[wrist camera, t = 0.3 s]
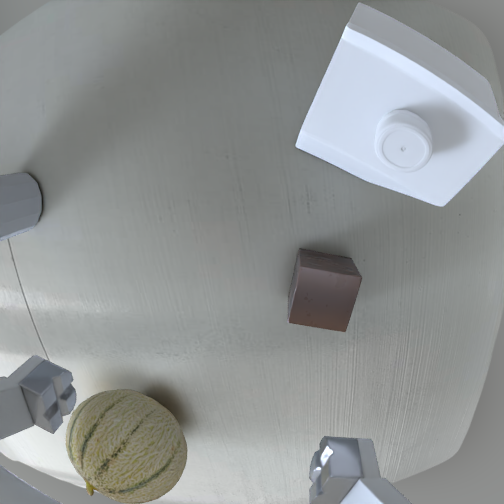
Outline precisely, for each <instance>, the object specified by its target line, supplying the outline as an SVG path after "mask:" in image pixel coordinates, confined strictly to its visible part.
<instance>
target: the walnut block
mask: <svg viewBox="0 0 504 504" xmlns="http://www.w3.org/2000/svg"><path fill="white" fill-rule="evenodd" d="M361 280H362V276H361V275H360V273H359V271H358V269H357V267H356V266H355V264H354V262H353V260H352V259H351V258H347V257H342V256H337V255H332V254H327V253H322V252H316V251H311V250H306V249H301V248H299V250H298V255H297V260H296V264H295V269H294V274H293V278H292V283H291V287H290V292H289V296H288V320H287V322H288V323H293V324H299V325H305V326H311V327H317V328H323V329H329V330H335V331H342V332H346V329H347V326H348V323H349V320H350V317H351V313H352V310H353V307H354V304H355V300H356V297H357V294H358V290H359V287H360V284H361Z"/></svg>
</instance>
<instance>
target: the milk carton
mask: <svg viewBox="0 0 504 504" xmlns="http://www.w3.org/2000/svg"><path fill="white" fill-rule="evenodd" d="M503 144H504V120H503V119H502V118H501V117H500V113H499V110H498V107H497V104H496V101H495V98H494V95H493V92H492V89H491V86H490V83H489V81H488V80H487V79H485V78H484V77H483V76H482V75H481V74H479V73H478V72H477V71H475V70H474V69H473V68H471V67H470V66H469V65H467V64H466V63H465V62H463V61H462V60H460V59H459V58H458V57H456V56H455V55H453V54H452V53H450V52H449V51H447V50H446V49H444V48H443V47H441V46H440V45H438V44H437V43H435V42H434V41H432V40H430V39H429V38H427V37H425V36H424V35H422V34H420V33H419V32H417V31H415V30H414V29H412V28H410V27H408V26H407V25H405V24H403V23H401V22H399V21H397V20H396V19H394V18H392V17H390V16H388V15H386V14H384V13H382V12H380V11H378V10H376V9H374V8H371V7H369V6H367V5H365V4H363V3H360V2H358V4H357V6H356V8H355V10H354V12H353V14H352V17H351V19H350V21H349V23H347V25H346V28H345V30H344V32H343V35H342V37H341V40H340V42H339V44H338V46H337V48H336V51H335V53H334V55H333V57H332V60H331V62H330V64H329V66H328V69H327V71H326V73H325V76H324V78H323V80H322V82H321V85H320V87H319V89H318V91H317V94H316V96H315V98H314V100H313V103H312V105H311V107H310V109H309V112H308V114H307V116H306V118H305V121H304V123H303V125H302V128H301V130H300V133H299V136H298V139H297V142H296V145H295V146H296V147H297V148H299V149H301V150H303V151H305V152H308V153H310V154H312V155H314V156H316V157H318V158H320V159H323V160H325V161H327V162H329V163H331V164H333V165H335V166H337V167H339V168H341V169H343V170H345V171H347V172H349V173H351V174H353V175H355V176H357V177H359V178H361V179H363V180H365V181H367V182H370V183H373V184H376V185H379V186H382V187H385V188H388V189H391V190H394V191H397V192H400V193H403V194H406V195H409V196H411V197H414V198H417V199H420V200H422V201H425V202H428V203H430V204H433V205H436V206H441V207H442V206H444V205H446V204H447V203H448V202H449V201H450V200H451V199H452V198H453V197H454V196H455V195H456V194H457V193H458V192H459V191H460V190H461V189H462V188H463V187H464V186H465V185H466V184H467V183H468V182H469V181H470V179H471V178H472V177H473V176H474V175H475V174H476V173H477V172H478V171H479V170H480V169H481V168H482V167H483V166H484V165H485V164H486V163H487V162H488V160H489V159H490V158H491V157H492V156H493V155H494V154H495V153H496V152H497V151H498V149H499V148H500V147H501V146H502V145H503Z"/></svg>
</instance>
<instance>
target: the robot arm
mask: <svg viewBox="0 0 504 504" xmlns="http://www.w3.org/2000/svg"><path fill="white" fill-rule="evenodd" d="M72 381H73V376H72V373H71V372H70V371H68V370H66V369H64V368H62V367H60V366H58V365H56V364H54V363H52V362H50V361H48V360H45V359H43V358H41V357H39V356H37V355H35V356H32V357H31V358H29V359H28V360H27V361H26V362H25V363H24V364H22V365H21V366H20V367H19V368H18V369H17V370H16V371H14V372H13V373H12V374H11V375H10V376H9V377H8V378H6V377H5V376H3V377H0V440H1V439H3V438H6V437H8V436H11V435H13V434H15V433H18V432H20V431H23V430H25V429H27V428H30V427H32V426H34V424H35V425H37V426H39V427H41V428H42V429H44V430H46V431H48V432H50V433H52V434H54V433H55V431H56V430H57V429H58V428H59V426H60V425H61V424H62V423H63V417H62V416H65V415H68V414H70V413H71V411H72V410H73V409H74V406H75V403H76V391H75V389H74V387H73V386H72V384H71V382H72ZM319 444H320V450H318V451H316V452H315V453H314V456H313V458H312V461H311V465H310V472H309V479H310V480H311V481H312V482H313V484H312V486H311V488H310V489H309V494H310V504H412V503H411V502H410V501H409V500H407V498H406V497H404V496H403V495H402V494H401V493H400V492H399V491H398V490H397V489H396V488H395V487H394V486H393V485H392V484H391V483H390V482H389V481H388V480H387V479H386V478H381V476H380V471H379V467H378V462H377V458H376V453H375V449H374V444H373V441H372V440H371V439H362V438H345V437H331V436H324V437H323V438H322V440H321V442H320V443H319ZM0 504H62V503H60V502H58V501H57V500H55V499H53V498H51V497H50V496H48V495H46V494H44V493H43V492H41V491H39V490H37V489H36V488H34V487H33V486H31V485H30V484H28V483H26V482H25V481H23V480H22V479H20V478H19V477H17V476H16V475H14V474H13V473H12V472H10V471H9V470H7V469H5V468H4V467H3V466H1V465H0Z"/></svg>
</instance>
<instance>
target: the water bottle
mask: <svg viewBox="0 0 504 504" xmlns="http://www.w3.org/2000/svg"><path fill="white" fill-rule="evenodd" d="M41 211H42V196H41V193H40V190H39V187H38V184H37V182H36V181H35V180H34V179H33V178H32V177H31V176H30V175H29V174H28V173H13V174H7V175H1V176H0V241H3V240H5V239H8V238H10V237H13V236H16V235H18V234H21V233H24V232H26V231H29V230H30V229H31V228H33V227H34V226H35V225H36V224H37V221H38V219H39V216H40V214H41Z"/></svg>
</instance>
